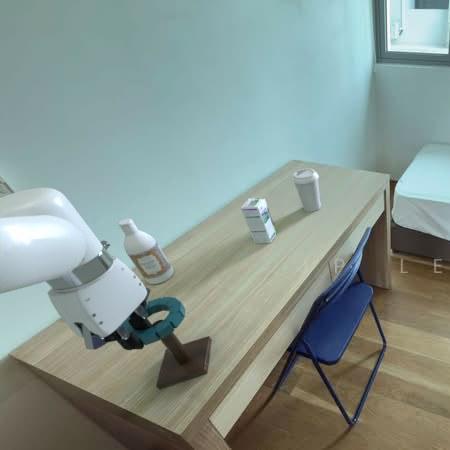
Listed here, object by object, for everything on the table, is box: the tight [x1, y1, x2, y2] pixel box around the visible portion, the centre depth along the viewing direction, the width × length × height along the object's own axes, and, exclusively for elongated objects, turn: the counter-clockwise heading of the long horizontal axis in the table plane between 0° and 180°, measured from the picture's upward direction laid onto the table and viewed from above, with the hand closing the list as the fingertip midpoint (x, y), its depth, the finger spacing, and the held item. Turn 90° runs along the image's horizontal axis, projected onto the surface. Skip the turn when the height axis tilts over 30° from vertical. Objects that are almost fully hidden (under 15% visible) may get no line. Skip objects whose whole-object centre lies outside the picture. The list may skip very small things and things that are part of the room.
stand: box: [151, 319, 212, 390], centre depth 65 cm, size 9×9×14 cm
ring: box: [122, 296, 186, 346], centre depth 60 cm, size 10×10×2 cm
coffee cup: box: [291, 168, 322, 213], centre depth 118 cm, size 10×10×15 cm
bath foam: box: [117, 218, 175, 285], centre depth 86 cm, size 7×7×20 cm
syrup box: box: [240, 197, 278, 244], centre depth 102 cm, size 6×6×14 cm
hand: (141, 339), depth 57 cm, fingers closed on ring, 2 cm apart
